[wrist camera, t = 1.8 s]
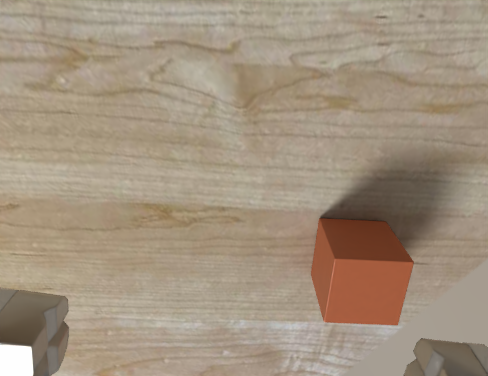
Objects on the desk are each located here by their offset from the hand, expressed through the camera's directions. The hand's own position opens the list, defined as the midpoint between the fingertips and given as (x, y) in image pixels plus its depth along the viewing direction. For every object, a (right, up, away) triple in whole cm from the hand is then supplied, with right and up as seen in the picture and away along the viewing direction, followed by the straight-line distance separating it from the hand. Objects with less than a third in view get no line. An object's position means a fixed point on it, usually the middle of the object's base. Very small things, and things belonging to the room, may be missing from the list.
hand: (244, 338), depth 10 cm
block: (+7, -1, +18) cm, 20 cm away
